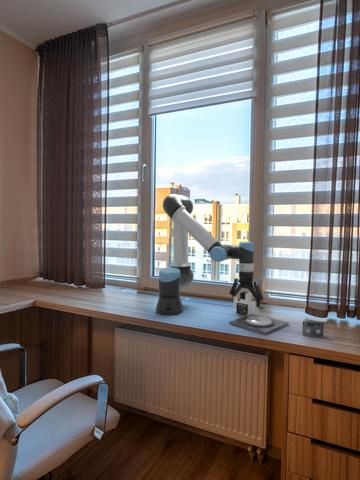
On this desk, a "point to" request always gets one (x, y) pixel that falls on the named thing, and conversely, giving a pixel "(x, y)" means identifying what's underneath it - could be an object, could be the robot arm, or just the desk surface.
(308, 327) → the mini dv tape
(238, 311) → the medicine bottle
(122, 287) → the desk surface
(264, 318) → the plate
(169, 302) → the robot arm
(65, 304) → the desk surface
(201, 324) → the desk surface
